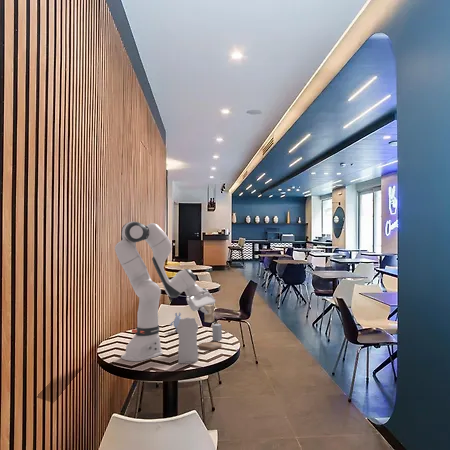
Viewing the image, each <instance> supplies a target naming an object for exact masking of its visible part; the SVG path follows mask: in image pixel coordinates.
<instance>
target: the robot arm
mask: <svg viewBox="0 0 450 450" xmlns="http://www.w3.org/2000/svg"><path fill="white" fill-rule="evenodd" d="M120 234H121V235H120V236H121V237H120V239H121V240H120V241H119V242H117V243H116V244H115V246H114V251H115V255H116V256H117V259H118V262H119V264H120V265H121V268H123V272H124V273H125V275H126V276H127V278H128V280H129V283H130V285H131V287H132V289H133V291H134V293H135V295H136V297H138V308H137V312H136V313H137V316H136V317H137V326H136V328H132V329H131V333H132V334H135V335H134V336H133V337H132V338H131V340H130V341H129V342H128V344H126V347H125V353H123V354H122V355H121V356H120V358H121V359H122V360H125V361H129V362H143V361H145V360H149V359H153V358H155V357H159V356H161V355H163V350H162V345H161V338H160V335H159V333H160V325H159V307H160V301H161V300H160V299H161V294H162V289H161V287H160V286H159V284H158V283H156V282H155V281H153V280H152V278H151V275H150V273H149V270H148V268H147V265H146V263H145V261H144V260H143V258H142V256H141V254H140V253H139V251H138V248H137V245H136V244H137V243H139V242H142V241H145V242H146V243H147V245H148V246H149V248H150V249H151V251H152V258H151V260H152V263H153V266H154V268H155V270H156V273H157V274H158V277H159V279H160V281H161V283H162V286H163V288H164V291H165V293H166V295H167V296H168V297H169V298H173V299H174V298H175V299H176V298H178V297H179V296H180V295H181V294H182V293H183V292H184V293H185V295H186V298H185V300H186V302H187V305H188V306H189V308H190V309H191V311H193V312H195V311H200V312H201V313H205V315H207V314H208V313H209V312H208V311H207V310H205V309H204V306H205V305H215V303H216V299H215V297H214V296H213V295H212V294H211V293H210V292H209V290H208V289H207V288H206V287H200V285H199V284H197V283H196V281H197V275H195V274H194V273H193V271H192V270H191V269H189V268H185V269H182V270H179V271H178V272H177V273H176V274H175V276H173V277H172V278H171V279H170V278H169V277H168V275H167V273H166V271H165V269H164V265H165V262H166V260H167V259H168V257H169V256H170V254H171V253H172V250H173V249H172V248H173V244H172V241H171V240H170V238H169V236H168V235H167V233H166V232H165V231H164V230H163V229H162V228H161V227H160V225H158V224H157V223H154V222H151V223H148V224H147V225H145V224H143V223H141V222H139V221H129V222H126V223H125V224H124V225H123V226H122V228H121V233H120Z"/></svg>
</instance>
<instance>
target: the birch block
mask: <svg viewBox="0 0 450 450" xmlns="http://www.w3.org/2000/svg"><path fill="white" fill-rule="evenodd" d="M204 309H205V310H207V311H208V312H209V313H208V314H207V315H205V313H204V312H203V313H204V315H203V316H204V323H210V324H211V323H214V322H215V304H213V305H205V306H204Z"/></svg>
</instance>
